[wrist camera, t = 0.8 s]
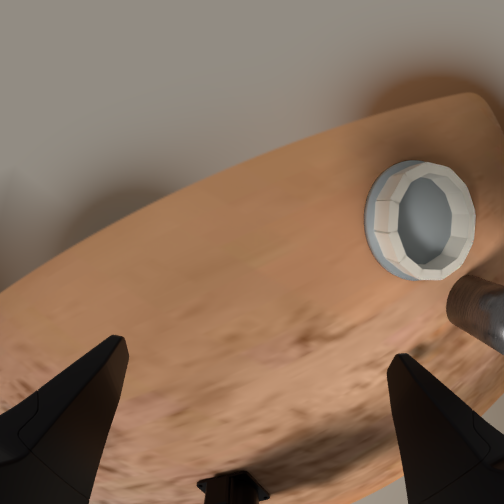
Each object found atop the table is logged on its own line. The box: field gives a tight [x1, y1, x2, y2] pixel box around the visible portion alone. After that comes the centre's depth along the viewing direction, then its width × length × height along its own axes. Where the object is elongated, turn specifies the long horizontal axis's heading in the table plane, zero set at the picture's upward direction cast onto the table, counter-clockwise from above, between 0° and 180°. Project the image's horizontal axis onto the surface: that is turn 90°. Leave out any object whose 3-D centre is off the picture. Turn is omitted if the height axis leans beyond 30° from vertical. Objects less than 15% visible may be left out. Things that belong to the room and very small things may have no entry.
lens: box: [446, 275, 504, 355], centre depth 18 cm, size 5×5×10 cm
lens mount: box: [364, 160, 476, 281], centre depth 21 cm, size 10×10×3 cm
